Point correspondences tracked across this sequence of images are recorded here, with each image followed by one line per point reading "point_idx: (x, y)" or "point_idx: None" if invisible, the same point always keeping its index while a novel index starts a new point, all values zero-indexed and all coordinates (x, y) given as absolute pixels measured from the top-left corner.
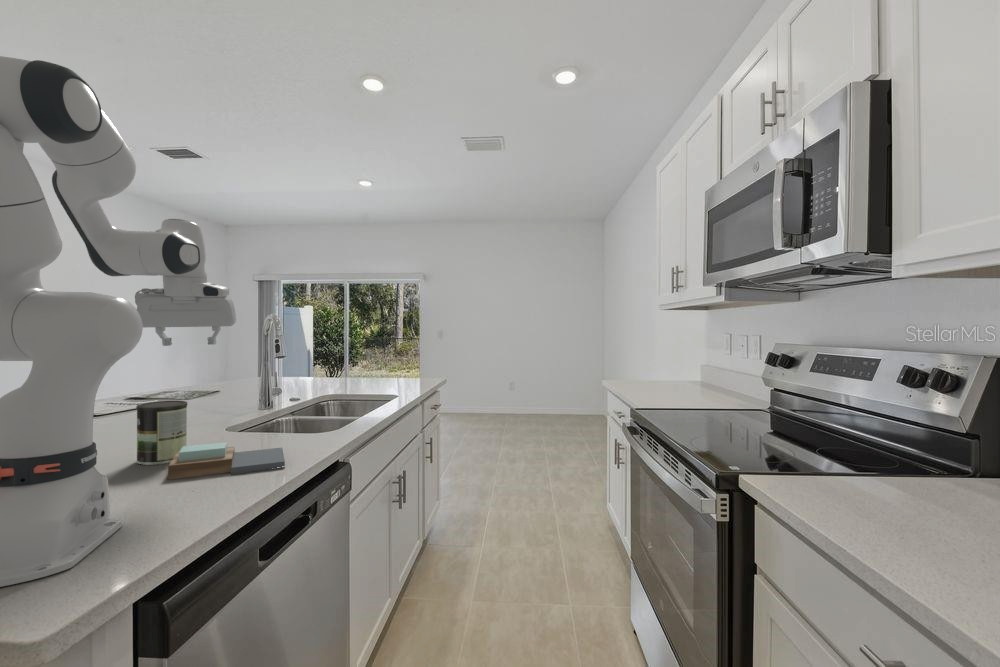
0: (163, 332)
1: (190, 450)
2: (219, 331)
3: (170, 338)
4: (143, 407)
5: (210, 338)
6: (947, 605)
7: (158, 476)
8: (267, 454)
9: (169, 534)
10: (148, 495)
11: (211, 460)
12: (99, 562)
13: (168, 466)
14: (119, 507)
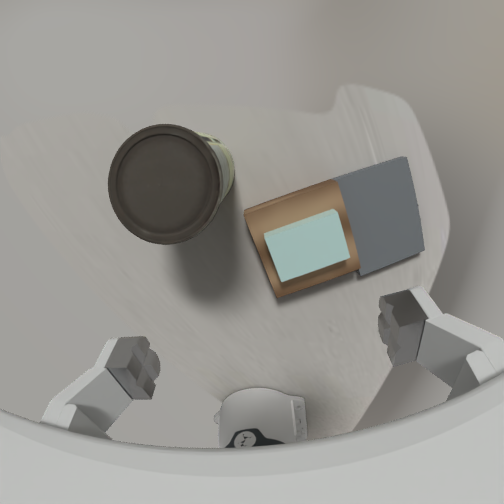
0: (78, 398)
1: (295, 270)
2: (487, 334)
3: (138, 379)
4: (149, 240)
5: (409, 357)
6: None
7: (251, 271)
8: (395, 204)
9: (346, 405)
10: (284, 340)
11: (332, 274)
12: (319, 429)
13: (277, 297)
14: (273, 366)
